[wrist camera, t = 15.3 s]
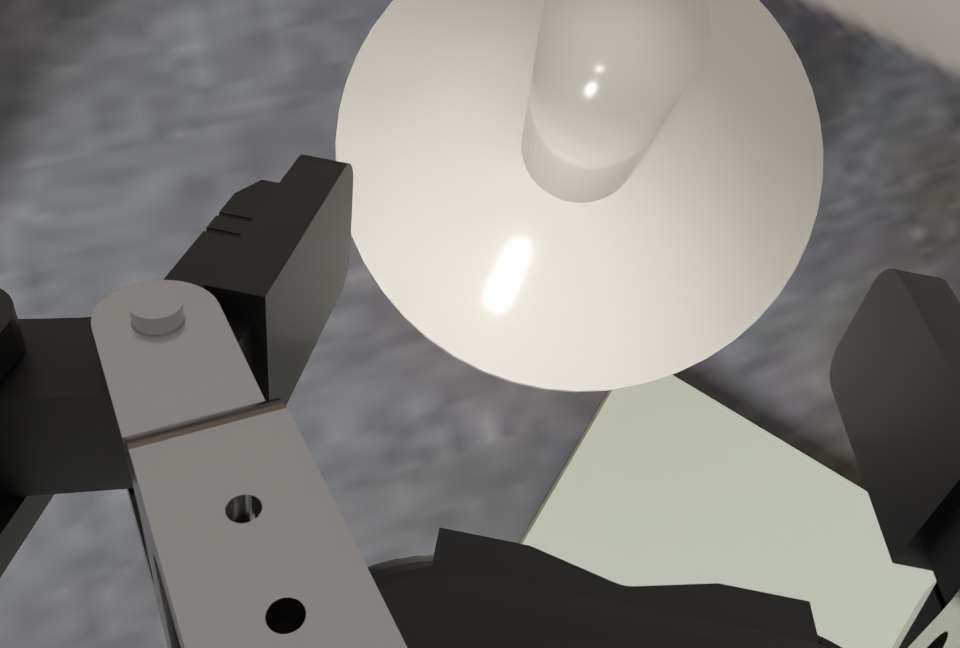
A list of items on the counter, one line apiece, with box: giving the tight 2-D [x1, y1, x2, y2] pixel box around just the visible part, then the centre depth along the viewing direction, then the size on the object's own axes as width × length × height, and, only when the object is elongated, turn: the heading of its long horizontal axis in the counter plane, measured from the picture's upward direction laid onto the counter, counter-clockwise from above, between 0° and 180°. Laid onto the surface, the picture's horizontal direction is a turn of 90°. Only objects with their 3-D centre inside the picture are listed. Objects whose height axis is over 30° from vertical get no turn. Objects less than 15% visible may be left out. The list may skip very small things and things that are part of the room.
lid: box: [336, 0, 823, 392], centre depth 21 cm, size 15×15×8 cm
